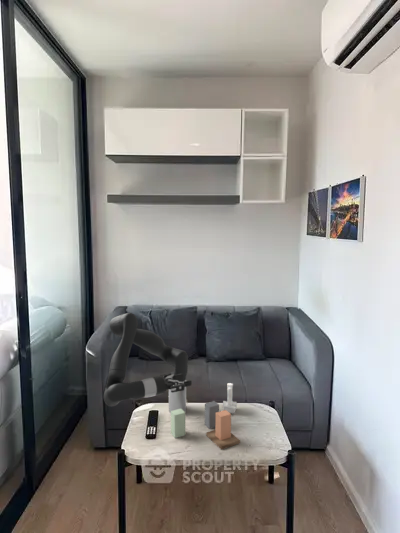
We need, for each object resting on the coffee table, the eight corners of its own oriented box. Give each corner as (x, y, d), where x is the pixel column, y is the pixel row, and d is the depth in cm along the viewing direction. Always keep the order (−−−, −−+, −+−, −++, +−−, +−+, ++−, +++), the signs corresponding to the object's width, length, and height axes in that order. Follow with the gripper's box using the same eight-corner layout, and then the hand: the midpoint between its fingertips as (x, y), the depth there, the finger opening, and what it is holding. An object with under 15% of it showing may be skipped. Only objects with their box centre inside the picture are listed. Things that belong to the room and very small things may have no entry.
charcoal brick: (204, 424, 184) (204, 403, 183) (214, 422, 187) (214, 400, 186) (209, 429, 180) (209, 407, 179) (219, 426, 183) (219, 404, 182)
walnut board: (206, 435, 175) (206, 432, 174) (224, 429, 180) (224, 427, 179) (221, 449, 163) (221, 446, 163) (240, 443, 168) (240, 440, 168)
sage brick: (170, 433, 176) (170, 411, 175) (181, 430, 179) (181, 408, 178) (174, 438, 172) (174, 415, 171) (185, 435, 175) (185, 412, 174)
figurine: (236, 407, 203) (236, 380, 201) (236, 415, 193) (236, 387, 192) (223, 406, 204) (223, 379, 202) (222, 414, 194) (222, 387, 193)
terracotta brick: (215, 435, 172) (215, 412, 171) (225, 432, 175) (225, 409, 173) (220, 440, 168) (220, 417, 167) (230, 437, 171) (231, 414, 170)
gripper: (159, 384, 150) (194, 376, 158) (146, 372, 163) (179, 365, 171) (159, 402, 151) (194, 393, 159) (146, 389, 164) (179, 381, 172)
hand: (186, 379), depth 165 cm, fingers open, 8 cm apart
